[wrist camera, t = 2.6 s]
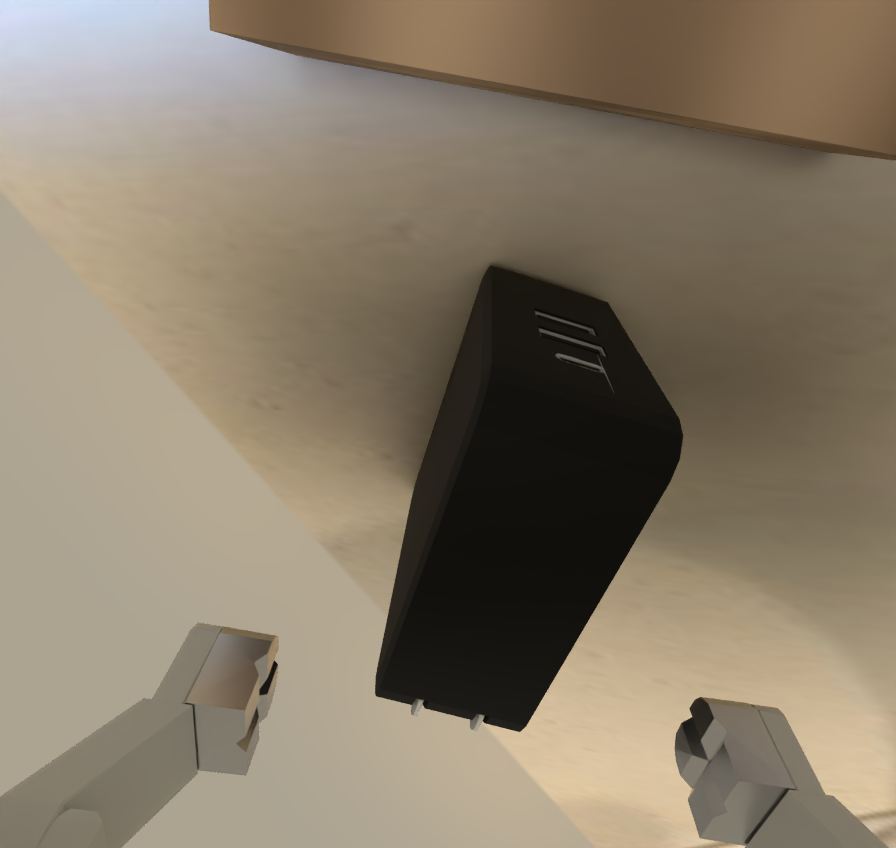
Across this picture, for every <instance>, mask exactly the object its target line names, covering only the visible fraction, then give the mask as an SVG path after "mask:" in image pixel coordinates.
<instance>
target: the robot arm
mask: <svg viewBox="0 0 896 848" xmlns="http://www.w3.org/2000/svg"><path fill="white" fill-rule="evenodd" d="M277 651H278V636H275V635H269V634H263V633H257V632H252V631H246V630H240V629H235V628H229V627H222V626H216V625H210V624H204V623H197V624H196V625H195V626H194V627H193V628H192V630H190V632H189V634H188V636H187V638H186V639H185V641H184V643H183V645H182V647H181V648H180V650H179V652H178V654H177V656H176V658H175V659H174V661H173V663H172V665H171V666H170V668H169V670H168V672H167V673H166V675H165V677H164V679H163V681H162V682H161V684H160V686H159V688H158V690H157V691H156V693H155V695H154V697H153V699H146V698H143V699H142V700H141V701H139V702H138V703H136V704H135V705H133V706H132V707H130V708H129V709H128V710H126V711H125V712H123V713H122V714H120V715H119V716H117V717H116V718H114V719H113V720H111V721H110V722H108V723H107V724H105V725H104V726H103V727H101V728H100V729H98V730H97V731H95V732H94V733H92V734H91V735H89V736H88V737H86V738H85V739H84V740H82V741H81V742H79V743H78V744H76V745H75V746H74V747H72V748H70V749H69V750H68V751H66V752H65V753H63V754H62V755H60V756H59V757H57V758H56V759H54V760H53V761H52V762H50V763H48V764H47V765H46V766H44V767H43V768H41V769H40V770H38V771H37V772H36V773H34V774H32V775H31V776H30V777H28V778H27V779H25V780H24V781H22V782H21V783H19V784H18V785H16V786H15V787H13V788H12V789H11V790H9V791H8V792H6V793H5V794H3V795H2V796H1V797H0V848H121V847H123V845H125V844H126V843H127V842H128V841H129V840H130V839H131V838H132V837H133V836H134V835H135V834H136V833H137V832H138V831H139V830H140V829H141V828H142V827H143V826H144V825H145V824H146V823H147V822H148V821H149V820H150V819H151V818H152V817H153V816H154V815H155V814H157V813H158V812H159V810H161V809H162V808H163V807H164V806H165V805H166V804H167V803H168V802H169V801H170V800H171V799H172V798H173V797H174V796H175V795H176V794H177V793H178V792H179V791H180V790H181V789H182V788H183V787H184V786H185V785H186V784H187V783H188V782H189V781H191V780H192V778H194V777H195V776H196V775H197V773H198V772H197V770H200V771H209V772H218V773H228V774H238V775H246V774H247V771H248V768H249V766H250V763H251V760H252V757H253V754H254V751H255V749H256V746H257V743H258V740H259V723H260V722H261V721H262V720H263V719H264V718H265V717H267V714H268V711H269V708H270V705H271V703H272V699H273V695H274V691H275V687H276V681H277V674H278V664H277V663H276V662H275V661H274V659H275V656H276V654H277ZM690 711H691V714H692V718H690V719H688V720H686V721H684V722H683V723H681V725H680V727H679V729H678V731H677V733H676V740H675V756H676V762H677V766H678V769H679V773H680V775H681V777H682V778H683V779H684V780H685V781H686V782H687V783H688V785H689V786H690V787H691V788H692V790H691V793H690V795H689V798H688V802H689V805H690V808H691V812H692V815H693V818H694V821H695V824H696V827H697V831H698V834H699V837H700V838H702V839H708V840H714V841H720V842H726V843H732V844H738V845H744V846H746V847H745V848H888V847H887V846H886V845H885V844H884V843H883V842H882V841H881V840H880V839H879V838H878V837H877V836H876V835H874V834H873V833H872V832H871V831H870V830H869V829H868V828H867V827H866V826H865V825H864V824H863V823H862V822H861V821H860V820H858V819H857V818H856V817H855V816H854V815H853V814H852V813H851V812H850V811H849V810H848V809H847V808H846V807H845V806H844V805H842V804H841V803H840V802H839V801H838V800H837V799H836V798H835V797H834V796H830V795H825V793H824V791H823V789H822V787H821V785H820V783H819V781H818V779H817V777H816V775H815V773H814V771H813V769H812V768H811V766H810V764H809V762H808V760H807V758H806V756H805V754H804V752H803V750H802V748H801V746H800V744H799V742H798V741H797V739H796V737H795V735H794V733H793V731H792V729H791V727H790V725H789V723H788V721H787V719H786V717H785V716H784V714H783V713H782V712H781V711H780V710H779V709H778V708H773V707H766V706H759V705H752V704H748V703H742V702H735V701H727V700H719V699H712V698H704V697H700V698H698V699H696V700H694V702H693V704H692V705H691V707H690Z"/></svg>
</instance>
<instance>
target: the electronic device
mask: <svg viewBox="0 0 896 848" xmlns="http://www.w3.org/2000/svg"><path fill="white" fill-rule="evenodd" d="M682 439H683V433H682V429H681V424H680V420H679V418H678V416H677V414H676V413H675V411H674V409H673V408H672V406H671V405H670V403H669V401H668V400H667V398H666V396H665V395H664V393H663V392H662V390H661V388H660V387H659V385H658V383H657V382H656V380H655V379H654V377H653V375H652V374H651V372H650V370H649V369H648V367H647V366H646V364H645V362H644V361H643V359H642V357H641V356H640V354H639V353H638V351H637V349H636V348H635V346H634V344H633V343H632V341H631V340H630V338H629V336H628V335H627V333H626V331H625V330H624V328H623V327H622V325H621V323H620V322H619V320H618V318H617V317H616V315H615V314H614V312H613V310H612V309H611V307H610V305H609V304H608V302H605V301H602V300H599V299H595V298H592V297H589V296H586V295H583V294H580V293H576V292H573V291H570V290H567V289H564V288H561V287H557V286H554V285H551V284H548V283H545V282H542V281H538V280H535V279H532V278H529V277H526V276H523V275H520V274H516V273H513V272H510V271H507V270H504V269H501V268H497V267H494V266H490V267H489V268H488V270H487V272H486V273H485V275H484V277H483V279H482V282H481V285H480V287H479V290H478V294H477V297H476V300H475V303H474V306H473V309H472V312H471V315H470V318H469V321H468V324H467V327H466V330H465V333H464V336H463V339H462V343H461V346H460V349H459V352H458V355H457V358H456V361H455V364H454V367H453V370H452V373H451V376H450V379H449V382H448V385H447V388H446V392H445V395H444V398H443V401H442V404H441V407H440V410H439V413H438V416H437V419H436V422H435V425H434V428H433V431H432V434H431V438H430V441H429V444H428V447H427V450H426V453H425V456H424V459H423V462H422V465H421V468H420V471H419V474H418V477H417V481H416V484H415V487H414V491H413V495H412V499H411V504H410V509H409V514H408V519H407V524H406V529H405V534H404V539H403V544H402V549H401V554H400V559H399V564H398V569H397V574H396V578H395V583H394V588H393V593H392V598H391V603H390V608H389V613H388V618H387V623H386V628H385V633H384V638H383V643H382V648H381V653H380V658H379V662H378V667H377V673H376V685H375V694H376V696H378V697H382V698H386V699H390V700H394V701H398V702H402V703H406V704H410V705H412V708H411V714H412V715H415V716H417V715H418V713H419V711H420V709H421V706H422V704H423V706H424V707H425V708H426V709H430V710H434V711H438V712H442V713H446V714H451V715H454V716H458V717H462V718H466V719H470V728H471V729H472V730H475V731H477V730H478V728H479V727H480V725H481V723H482V721H483V722H484V723H486V724H490V725H494V726H498V727H502V728H506V729H510V730H514V731H518V732H520V731H521V730H523V729H524V728H525V727H526V726H527V724H528V722H529V721H530V719H531V717H532V715H533V714H534V712H535V710H536V709H537V707H538V705H539V704H540V702H541V700H542V698H543V697H544V695H545V693H546V692H547V690H548V688H549V687H550V685H551V683H552V681H553V680H554V678H555V676H556V675H557V673H558V671H559V670H560V668H561V666H562V665H563V663H564V661H565V659H566V658H567V656H568V654H569V653H570V651H571V649H572V648H573V646H574V644H575V642H576V641H577V639H578V637H579V636H580V634H581V632H582V631H583V629H584V627H585V625H586V624H587V622H588V620H589V619H590V617H591V615H592V614H593V612H594V610H595V608H596V607H597V605H598V603H599V602H600V600H601V598H602V597H603V595H604V593H605V592H606V590H607V588H608V586H609V585H610V583H611V581H612V580H613V578H614V576H615V575H616V573H617V571H618V569H619V568H620V566H621V564H622V563H623V561H624V559H625V558H626V556H627V554H628V552H629V551H630V549H631V547H632V546H633V544H634V542H635V541H636V539H637V537H638V535H639V534H640V532H641V530H642V529H643V527H644V525H645V524H646V522H647V520H648V519H649V517H650V515H651V513H652V512H653V510H654V508H655V507H656V505H657V503H658V502H659V500H660V498H661V496H662V495H663V493H664V491H665V490H666V488H667V486H668V485H669V483H670V481H671V479H672V476H673V474H674V471H675V469H676V467H677V464H678V462H679V459H680V454H681V447H682Z"/></svg>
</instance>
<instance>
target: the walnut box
mask: <svg viewBox="0 0 896 848" xmlns="http://www.w3.org/2000/svg"><path fill="white" fill-rule="evenodd" d="M209 16H210V30H211V31H215V32H218V33H222V34H225V35H229V36H232V37H235V38H239V39H242V40H246V41H249V42H253V43H256V44H260V45H263V46H266V47H270V48H273V49H277V50H280V51H284V52H287V53H291V54H294V55H297V56H303V57H308V58H314V59H319V60H325V61H330V62H336V63H341V64H347V65H352V66H358V67H363V68H369V69H374V70H380V71H385V72H391V73H396V74H402V75H407V76H413V77H418V78H424V79H429V80H435V81H440V82H446V83H451V84H457V85H462V86H468V87H473V88H479V89H484V90H490V91H495V92H501V93H506V94H512V95H517V96H523V97H528V98H534V99H539V100H545V101H550V102H556V103H561V104H567V105H572V106H578V107H583V108H589V109H594V110H600V111H605V112H611V113H616V114H622V115H627V116H633V117H638V118H644V119H649V120H655V121H660V122H666V123H671V124H677V125H682V126H688V127H693V128H699V129H704V130H710V131H715V132H721V133H726V134H732V135H737V136H743V137H748V138H754V139H759V140H765V141H770V142H776V143H781V144H787V145H792V146H798V147H803V148H809V149H814V150H820V151H825V152H831V153H839V154H847V155H856V156H864V157H872V158H881V159H889V160H896V0H209Z"/></svg>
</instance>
